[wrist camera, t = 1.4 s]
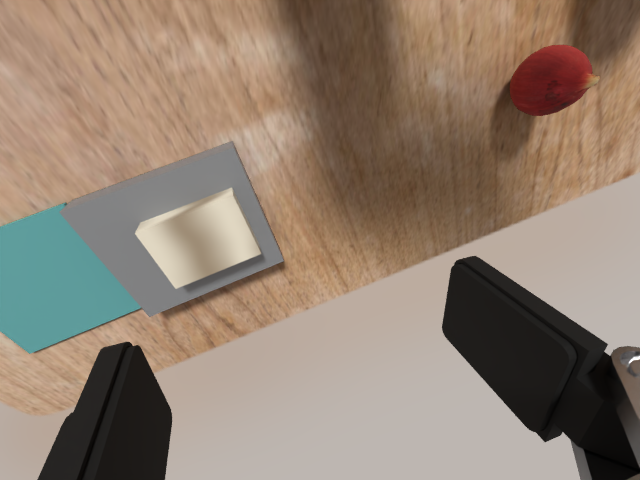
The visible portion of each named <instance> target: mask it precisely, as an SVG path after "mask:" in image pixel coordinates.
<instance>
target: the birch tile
mask: <svg viewBox="0 0 640 480" xmlns="http://www.w3.org/2000/svg"><path fill="white" fill-rule="evenodd" d="M135 235H136V236H137V237H138V239H139V240H140V241H141V243H142V244H143V245H144V247H145V248H146V249H147V251H148V252H149V254H150V255H151V256H152V258H153V259H154V260H155V262H156V263H157V264H158V266H159V267H160V268H161V270H162V271H163V272H164V274H165V275H166V277H167V278H168V279H169V281H170V282H171V283H172V285H173V286H174V287H175V289H177V288H179V287H182V286H184V285H187V284H189V283H192V282H194V281H197V280H199V279H201V278H204V277H206V276H209V275H211V274H214V273H216V272H218V271H221V270H223V269H226V268H228V267H231V266H233V265H236V264H238V263H240V262H243V261H245V260H248V259H250V258H253V257H255V256H258V255H260V254H261V250H260V246H259V243H258V240H257V238H256V236H255V234H254V232H253V230H252V228H251V226H250V224H249V222H248V220H247V218H246V215H245V213H244V211H243V209H242V207H241V205H240V203H239V201H238V199H237V197H236V195H235V193H234V190H233V188H229V189H227V190H224V191H221V192H219V193H216V194H214V195H211V196H208V197H206V198H203V199H201V200H198V201H195V202H193V203H190V204H188V205H185V206H182V207H180V208H177V209H175V210H172V211H169V212H167V213H164V214H162V215H159V216H156V217H154V218H151V219H149V220H146V221H143V222H141V223H140V224H139V226H138V228H137V230H136V232H135Z"/></svg>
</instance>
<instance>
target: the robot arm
mask: <svg viewBox="0 0 640 480" xmlns="http://www.w3.org/2000/svg"><path fill="white" fill-rule="evenodd" d="M442 330H443V333H444V335H445V337H446V338H447V339H448V340H449V342H450V343H451V344H452V345H453V346H454V347H455V348H456V349H457V350H458V352H459V353H460V354H461V355H462V356H463V357H464V358H465V359H466V361H467V362H468V363H469V364H470V365H471V366H472V367H473V368H474V369H475V370H476V372H477V373H478V374H479V375H480V376H481V377H482V378H483V379H484V380H485V381H486V383H487V384H488V385H489V386H490V387H491V388H492V389H493V391H494V392H495V393H496V394H497V395H498V396H499V397H500V398H501V399H502V400H503V402H504V403H505V404H506V405H507V406H508V407H509V408H510V409H511V411H512V412H513V413H514V414H515V415H516V416H517V417H518V418H519V419H520V420H521V422H522V423H523V424H524V425H525V426H526V427H527V428H528V429H529V430H531V431H533V432H536V433H537V434H538V435H539V436H540V437H541V438H542V439H543V441H544V442H547V441H549V440H551V439H553V438H556V437H558V436H560V435H561V434H562V432H564V433H565V434H566V435H567V436H568V437H569V438H570V440H571V443H572V448H573V451H574V455H575V459H576V463H577V467H578V471H579V475H580V479H581V480H640V348H639V347H631V346H625V347H619V348H617V349H615V350H613V352H612V354H611V356H609V355H608V354H606V353H605V352H604V350H605V349H606V347H607V345H608V344H607V343H605V342H604V341H602V340H601V339H599V338H598V337H596V336H595V335H593V334H592V333H590V332H589V331H587V330H586V329H584V328H583V327H581V326H580V325H578V324H577V323H575V322H574V321H572V320H571V319H569V318H568V317H566V316H565V315H563V314H562V313H560V312H559V311H557V310H556V309H555V308H553V307H551V306H550V305H549V304H547V303H546V302H544V301H542V300H541V299H540V298H538V297H537V296H535V295H534V294H532V293H531V292H529V291H528V290H526V289H525V288H523V287H522V286H520V285H519V284H517V283H516V282H514V281H513V280H511V279H510V278H508V277H507V276H505V275H504V274H502V273H501V272H499V271H498V270H496V269H495V268H493V267H492V266H490V265H489V264H487V263H486V262H484V261H483V260H481V259H480V258H478V257H476V256H472V257H467V258H463V259H459V260H457V261H456V262H455V264H454V266H453V267H452V268H451V273H450V280H449V286H448V292H447V299H446V305H445V312H444V318H443V324H442ZM171 427H172V413H171V409H170V407H169V405H168V403H167V401H166V398H165V396H164V394H163V392H162V390H161V388H160V386H159V384H158V382H157V380H156V378H155V376H154V374H153V372H152V370H151V368H150V366H149V364H148V362H147V360H146V358H145V355H144V353H143V351H142V349H141V348H140V346H139V345H136V346H133V345H132V344H131V343H130V342H124V343H120V344H116V345H112V346H108V347H104V348H102V349H101V350H100V352H99V354H98V356H97V359H96V361H95V363H94V366H93V368H92V370H91V373H90V375H89V377H88V380H87V382H86V384H85V387H84V389H83V391H82V393H81V396H80V398H79V400H78V403H77V405H76V407H75V410H74V412H73V413H71V414H70V415H69V416H68V417H67V418H66V419H65V421H64V423H63V424H62V426H61V428H60V431H59V433H58V435H57V437H56V440H55V442H54V444H53V446H52V449H51V451H50V453H49V455H48V457H47V460H46V462H45V464H44V467H43V469H42V471H41V473H40V475H39V478H38V480H165V474H166V466H167V457H168V450H169V441H170V434H171Z"/></svg>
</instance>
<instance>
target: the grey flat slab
mask: <svg viewBox="0 0 640 480" xmlns="http://www.w3.org/2000/svg"><path fill="white" fill-rule="evenodd" d="M229 188H233V190H234V193H235V195H236V197H237V199H238V201H239V203H240V205H241V207H242V209H243V211H244V213H245V215H246V218H247V220H248V222H249V224H250V226H251V228H252V230H253V232H254V234H255V236H256V238H257V240H258V243H259V246H260V250H261V254H260V255H258V256H255V257H253V258H250V259H248V260H245V261H243V262H240V263H238V264H236V265H233V266H231V267H228V268H226V269H223V270H221V271H218V272H216V273H214V274H211V275H209V276H206V277H204V278H201V279H199V280H197V281H194V282H192V283H189V284H187V285H184V286H182V287H179V288H177V289H175V287H174V286H173V285H172V283H171V282H170V281H169V279H168V278H167V277H166V275H165V274H164V272H163V271H162V270H161V268H160V267H159V266H158V264H157V263H156V262H155V260H154V259H153V258H152V256H151V255H150V254H149V252H148V251H147V249H146V248H145V247H144V245H143V244H142V243H141V241H140V240H139V239H138V237H137V236H136V235H135V232H136V230H137V228H138V226H139V224H140V223H141V222H143V221H146V220H149V219H151V218H154V217H156V216H159V215H162V214H164V213H167V212H169V211H172V210H175V209H177V208H180V207H182V206H185V205H188V204H190V203H193V202H195V201H198V200H201V199H203V198H206V197H208V196H211V195H214V194H216V193H219V192H221V191H224V190H227V189H229ZM59 213H60V214H61V215H62V216H63V217H64V219H65V220H66V221H67V222H68V223H69V224H70V226H71V227H72V228H73V229H74V230H75V231H76V233H77V234H78V235H79V236H80V237H81V238H82V239H83V241H84V242H85V243H86V244H87V245H88V246H89V248H90V249H91V250H92V251H93V252H94V253H95V255H96V256H97V257H98V258H99V259H100V260H101V261H102V263H103V264H104V265H105V266H106V267H107V268H108V270H109V271H110V272H111V273H112V274H113V275H114V277H115V278H116V279H117V280H118V281H119V282H120V284H121V285H122V286H123V287H124V288H125V289H126V290H127V292H128V293H129V294H130V295H131V296H132V297H133V299H134V300H135V301H136V302H137V303H138V304H139V306H140V307H141V308H142V309H143V310H144V311H145V312H146V314H147V315H148V316H149V317H151V316H153V315H155V314H158V313H160V312H163V311H165V310H167V309H170V308H172V307H175V306H177V305H179V304H182V303H184V302H187V301H189V300H191V299H194V298H196V297H199V296H201V295H203V294H206V293H208V292H211V291H213V290H216V289H218V288H220V287H223V286H225V285H228V284H230V283H232V282H235V281H237V280H240V279H242V278H244V277H247V276H249V275H252V274H254V273H256V272H259V271H261V270H264V269H266V268H268V267H271V266H273V265H276V264H278V263H280V262H283V261H284V260H283V257H282V254H281V251H280V248H279V246H278V244H277V241H276V239H275V237H274V235H273V232H272V230H271V228H270V226H269V223H268V221H267V219H266V216H265V214H264V212H263V210H262V207H261V205H260V203H259V200H258V198H257V196H256V194H255V191H254V189H253V187H252V185H251V182H250V180H249V178H248V175H247V173H246V171H245V169H244V166H243V164H242V162H241V159H240V157H239V155H238V153H237V150H236V148H235V146H234V144H233V141H231V142H229V143H226V144H223V145H220V146H218V147H215V148H212V149H210V150H207V151H204V152H201V153H199V154H196V155H193V156H191V157H188V158H185V159H182V160H180V161H177V162H174V163H172V164H169V165H166V166H163V167H161V168H158V169H155V170H153V171H150V172H147V173H144V174H142V175H139V176H136V177H134V178H131V179H128V180H126V181H123V182H120V183H117V184H115V185H112V186H109V187H107V188H104V189H101V190H98V191H96V192H93V193H90V194H88V195H85V196H82V197H79V198H77V199H74V200H72V201H71V202H69V203H68V204H67V205H66V206H65V207H64V208H63V209H62V210H61V211H60V212H59Z"/></svg>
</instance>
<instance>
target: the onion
mask: <svg viewBox="0 0 640 480" xmlns="http://www.w3.org/2000/svg"><path fill="white" fill-rule="evenodd" d="M599 80H600V77H599V76H594V75H592V66H591V64H590V62H589V60H588V58H587V56H586V55H585V54H584V53H583V52H581V51H580V50H578V49H577V48H574V47H572V46H568V45H552V46H548V47H544V48H542V49H540V50H538V51H537V52H535V53H533V54H531V55H530V56H529V57H528V58H526V59H525V60H524V61H523V62H522V63H521V64H520V65H519V67H518V68H517V70H516V71H515V73H514V74H513V76H512V79H511V83H510V96H511V99H512V101H513V103H514V105H515V106H516V107H517V109H518V110H520V111H522V112H524V113H527V114H530V115H533V116H543V115H548V114H552V113H556V112H558V111H560V110H562V109H564V108H566V107H568V106H570V105H571V104H573V103H575V102H576V101H577V100H579V99H580V98H581V97H582V96H583V94H584V93H585V92H586V91H587V89H589V88H590V87H592V86H594V85H596V84H597V83H598V82H599Z"/></svg>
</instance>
